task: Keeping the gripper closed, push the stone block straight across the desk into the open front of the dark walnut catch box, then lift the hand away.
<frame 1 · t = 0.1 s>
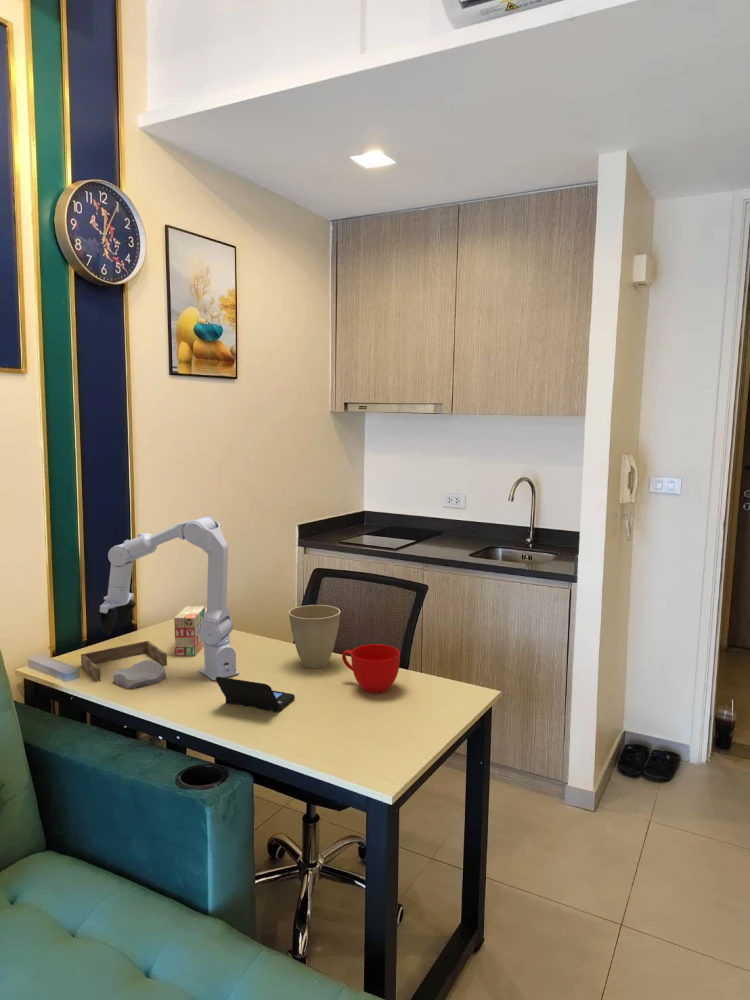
hand: (114, 629, 198), 11 cm above the table, tool pointing down, fingers open, 7 cm apart
ceramic cup: (369, 687, 183), on the table
catch box: (124, 665, 198), on the table
game console: (256, 706, 172), on the table
stack of blocks: (195, 645, 217), on the table
plant pot: (315, 664, 200), on the table
stone block: (142, 682, 187), on the table
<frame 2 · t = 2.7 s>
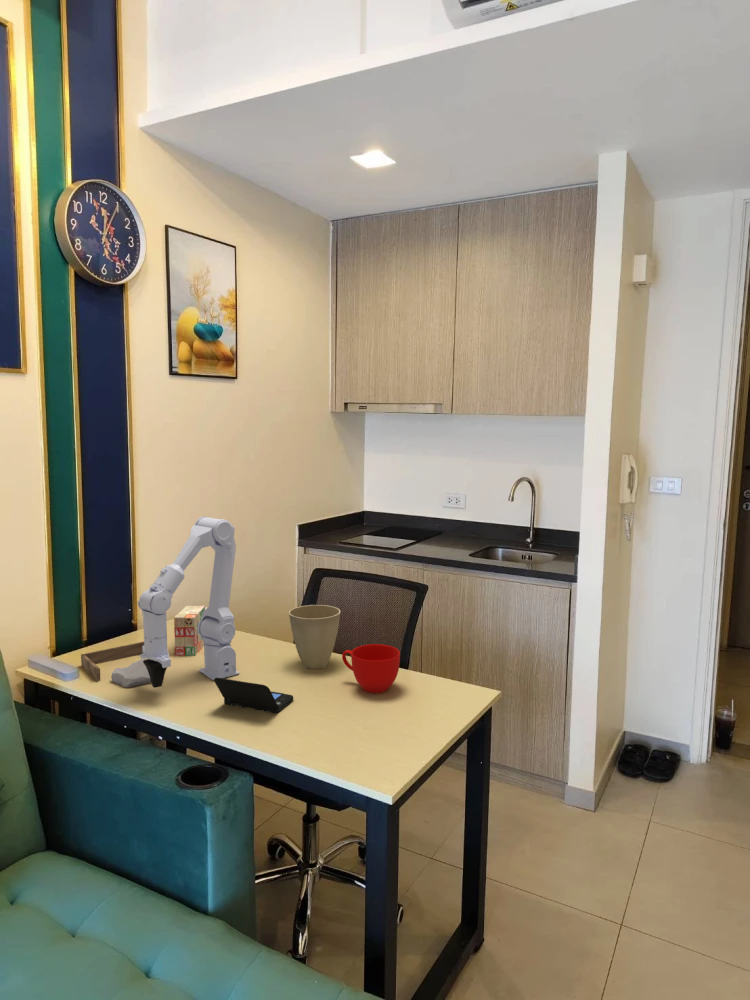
hand: (157, 686, 178), 2 cm above the table, tool pointing down, fingers closed
stone block: (139, 681, 188), on the table
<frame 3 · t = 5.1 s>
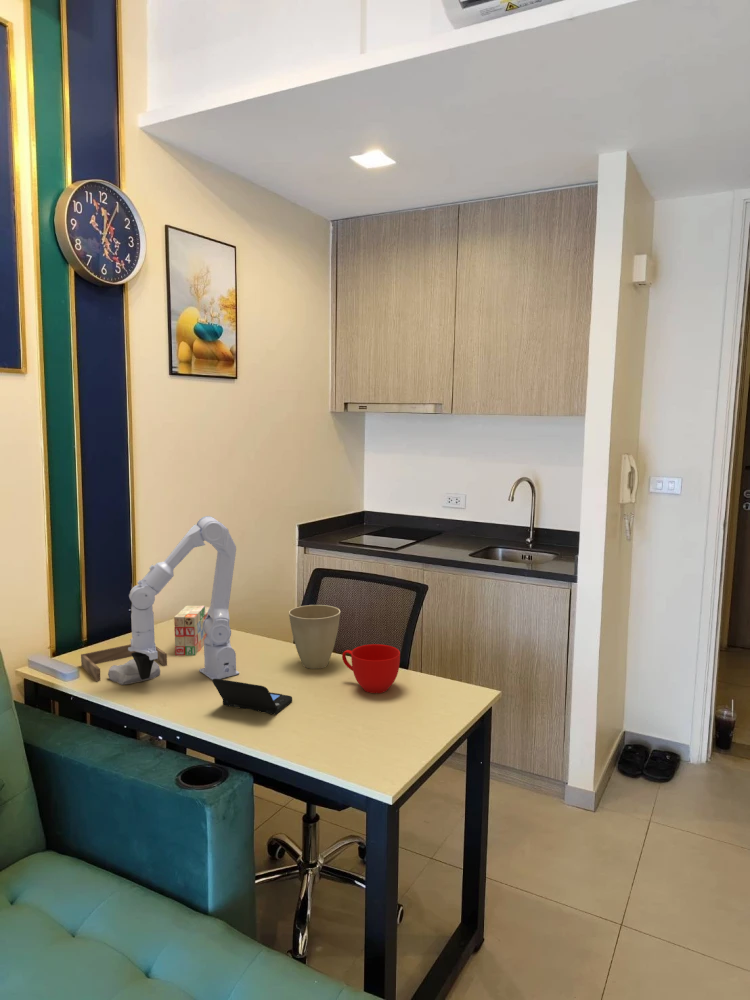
hand: (145, 678, 185), 1 cm above the table, tool pointing down, fingers closed
stone block: (136, 678, 190), on the table, touching gripper
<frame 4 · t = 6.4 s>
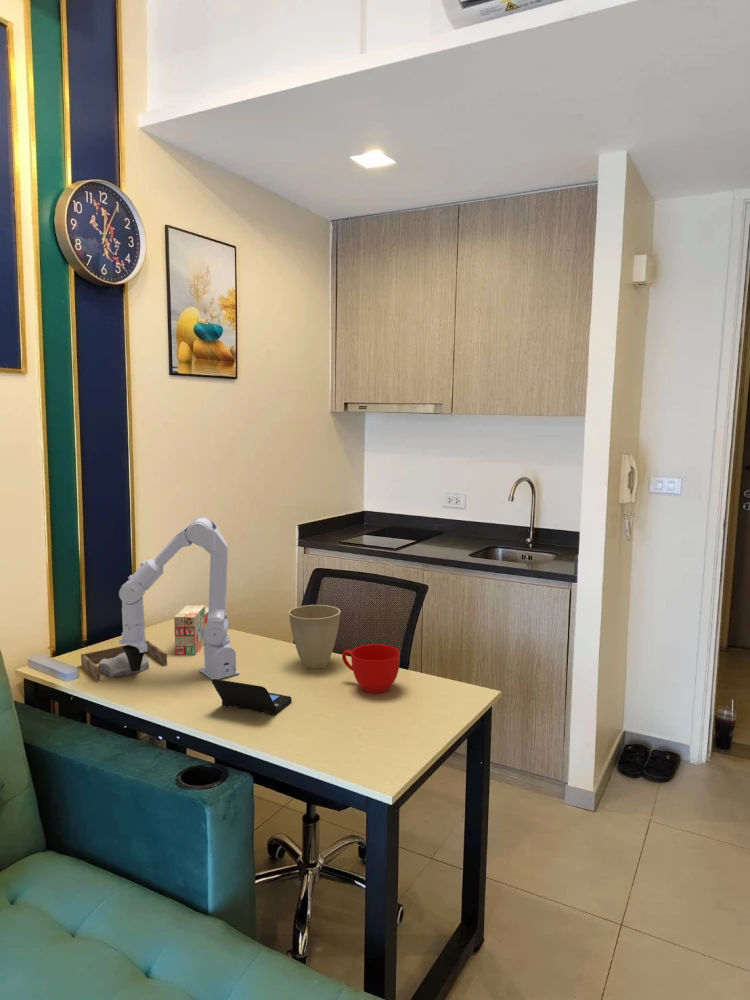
hand: (135, 670, 191), 1 cm above the table, tool pointing down, fingers closed
stone block: (125, 671, 195), on the table, touching gripper
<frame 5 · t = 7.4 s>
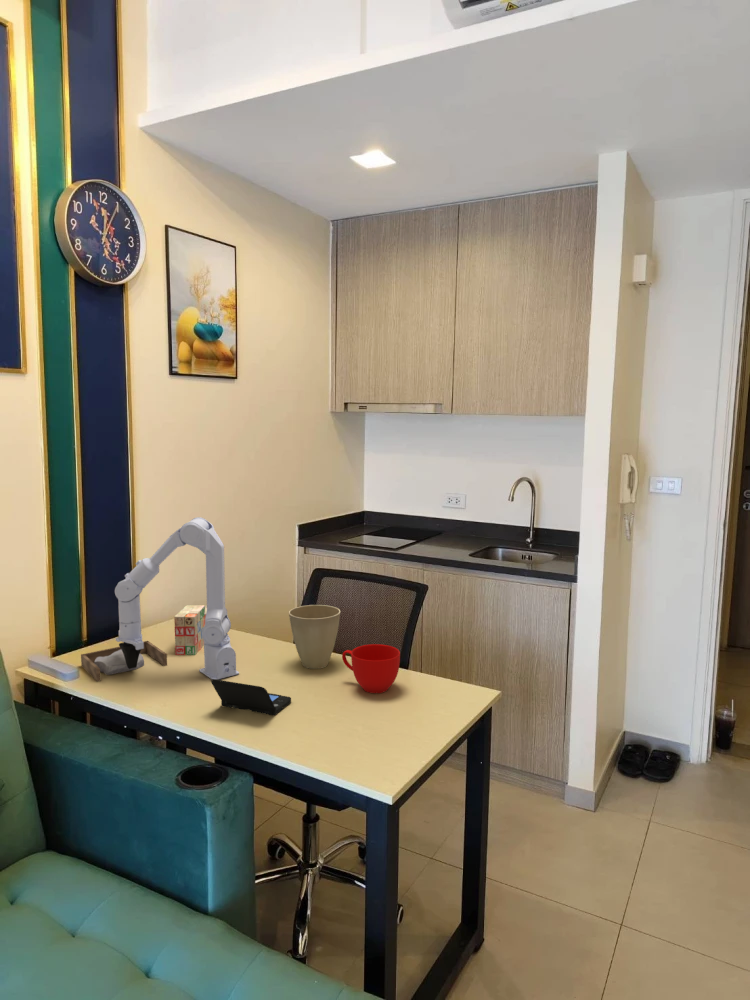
hand: (132, 667, 193), 1 cm above the table, tool pointing down, fingers closed
stone block: (121, 669, 197), on the table, touching gripper
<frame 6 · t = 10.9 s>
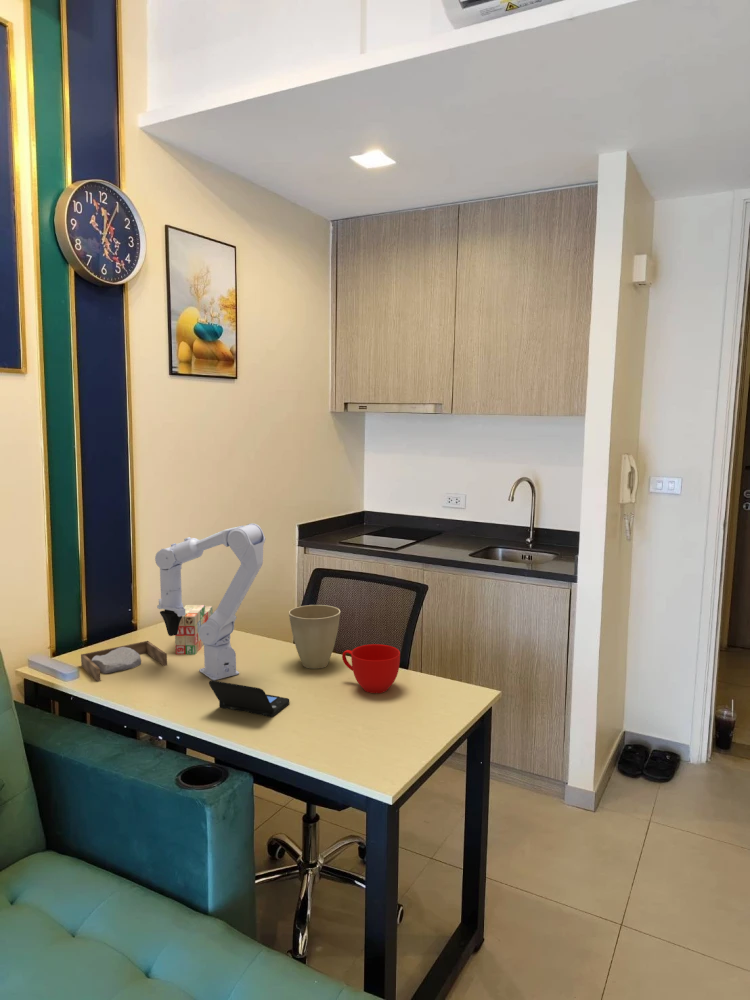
hand: (172, 634, 197), 9 cm above the table, tool pointing down, fingers closed
stone block: (118, 668, 198), on the table
at the end: stone block inside the target area on the catch box (1.7 cm from its centre), point -0.5 cm above the catch box's base; stone block moved 15.3 cm from its start; stone block tilted 2° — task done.
